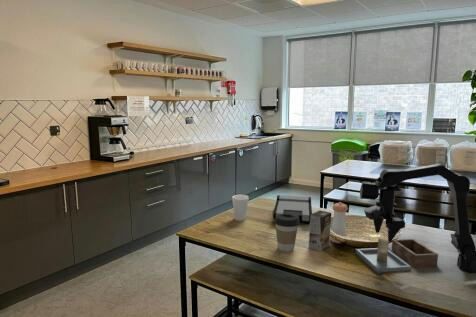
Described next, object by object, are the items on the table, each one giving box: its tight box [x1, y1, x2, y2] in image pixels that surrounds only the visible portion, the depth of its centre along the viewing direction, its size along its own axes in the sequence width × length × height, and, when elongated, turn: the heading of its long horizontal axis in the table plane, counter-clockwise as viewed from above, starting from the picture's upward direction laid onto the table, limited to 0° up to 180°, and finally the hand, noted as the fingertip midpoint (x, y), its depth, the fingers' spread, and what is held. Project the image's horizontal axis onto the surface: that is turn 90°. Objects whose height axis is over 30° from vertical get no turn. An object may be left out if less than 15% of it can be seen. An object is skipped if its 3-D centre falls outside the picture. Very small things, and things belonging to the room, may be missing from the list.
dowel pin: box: [377, 237, 390, 263], centre depth 143 cm, size 4×4×9 cm
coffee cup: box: [273, 214, 300, 253], centre depth 156 cm, size 11×11×15 cm
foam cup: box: [231, 194, 249, 222], centre depth 195 cm, size 10×9×13 cm
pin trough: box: [391, 238, 439, 268], centre depth 146 cm, size 16×10×6 cm, turn 8°
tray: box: [355, 247, 412, 275], centre depth 143 cm, size 18×14×2 cm
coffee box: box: [308, 210, 332, 252], centre depth 158 cm, size 9×6×16 cm
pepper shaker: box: [330, 201, 349, 244], centre depth 165 cm, size 7×7×19 cm
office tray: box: [272, 195, 313, 225], centre depth 201 cm, size 21×32×8 cm, turn 169°
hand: (383, 236), depth 142 cm, fingers open, 9 cm apart
